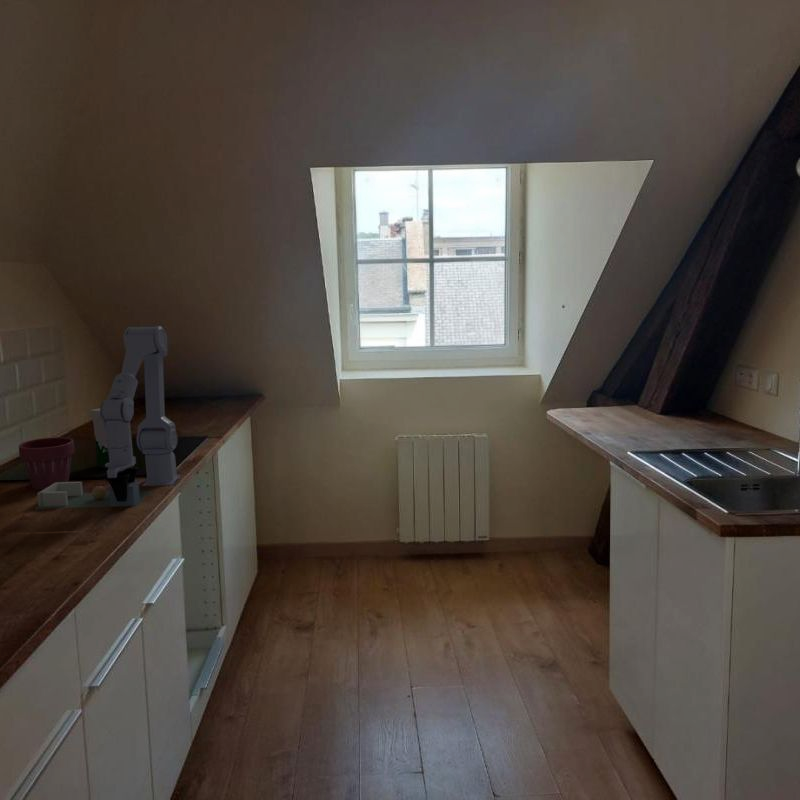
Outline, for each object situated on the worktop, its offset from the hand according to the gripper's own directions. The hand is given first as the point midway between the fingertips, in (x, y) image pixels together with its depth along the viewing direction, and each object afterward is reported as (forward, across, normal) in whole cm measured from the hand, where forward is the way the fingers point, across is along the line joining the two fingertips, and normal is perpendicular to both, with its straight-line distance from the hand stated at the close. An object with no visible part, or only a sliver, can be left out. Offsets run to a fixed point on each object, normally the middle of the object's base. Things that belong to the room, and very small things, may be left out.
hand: (124, 498), depth 193 cm
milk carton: (+2, -44, -20) cm, 48 cm away
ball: (0, -5, -8) cm, 10 cm away
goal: (+1, -5, -18) cm, 19 cm away
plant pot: (+2, -21, -28) cm, 35 cm away
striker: (+1, 0, 0) cm, 1 cm away
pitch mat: (+2, -4, -10) cm, 11 cm away
